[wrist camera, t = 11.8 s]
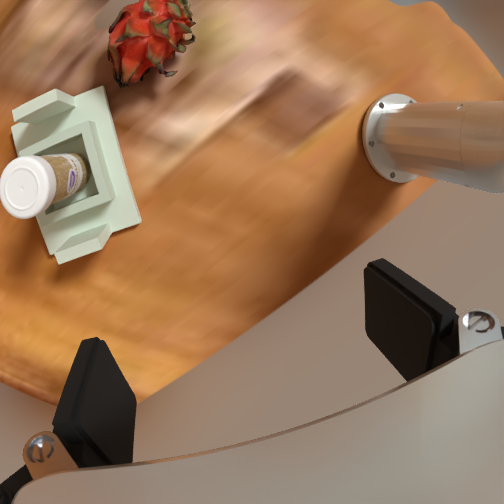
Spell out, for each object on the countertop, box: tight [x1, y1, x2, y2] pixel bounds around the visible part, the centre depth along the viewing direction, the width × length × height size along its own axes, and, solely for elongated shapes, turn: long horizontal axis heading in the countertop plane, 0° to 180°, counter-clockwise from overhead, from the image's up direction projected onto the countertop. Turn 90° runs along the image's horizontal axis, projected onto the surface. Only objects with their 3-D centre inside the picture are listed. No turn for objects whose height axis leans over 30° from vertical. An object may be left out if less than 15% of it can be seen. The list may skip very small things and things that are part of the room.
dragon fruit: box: [108, 0, 196, 89], centre depth 26 cm, size 8×8×12 cm
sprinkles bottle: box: [0, 152, 91, 219], centre depth 24 cm, size 5×5×14 cm
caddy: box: [11, 86, 142, 264], centre depth 28 cm, size 12×16×7 cm
